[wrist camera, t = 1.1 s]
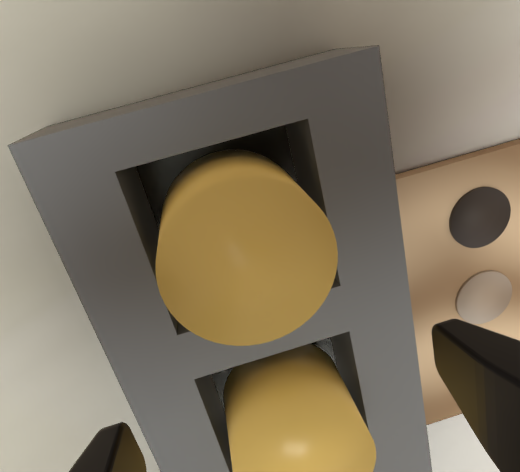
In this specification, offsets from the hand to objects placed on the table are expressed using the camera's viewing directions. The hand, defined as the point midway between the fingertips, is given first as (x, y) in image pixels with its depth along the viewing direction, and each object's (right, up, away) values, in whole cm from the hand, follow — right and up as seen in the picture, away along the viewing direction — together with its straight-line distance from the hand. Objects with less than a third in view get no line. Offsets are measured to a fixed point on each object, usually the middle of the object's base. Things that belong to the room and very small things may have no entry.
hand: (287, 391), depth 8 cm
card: (+10, 0, +14) cm, 18 cm away
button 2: (0, -4, +11) cm, 12 cm away
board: (0, -3, +14) cm, 14 cm away
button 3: (-1, +3, +8) cm, 9 cm away
